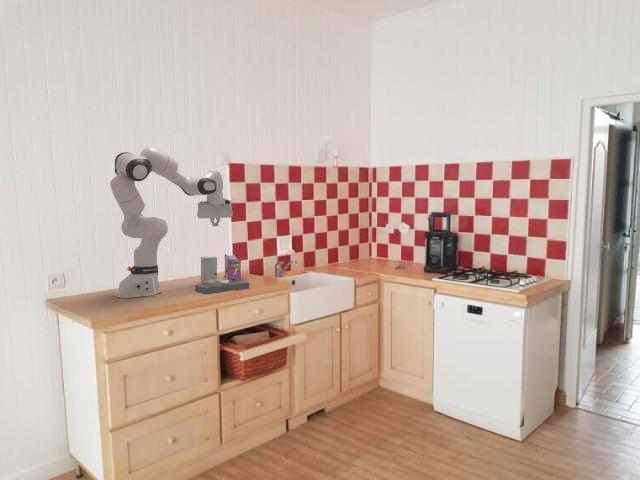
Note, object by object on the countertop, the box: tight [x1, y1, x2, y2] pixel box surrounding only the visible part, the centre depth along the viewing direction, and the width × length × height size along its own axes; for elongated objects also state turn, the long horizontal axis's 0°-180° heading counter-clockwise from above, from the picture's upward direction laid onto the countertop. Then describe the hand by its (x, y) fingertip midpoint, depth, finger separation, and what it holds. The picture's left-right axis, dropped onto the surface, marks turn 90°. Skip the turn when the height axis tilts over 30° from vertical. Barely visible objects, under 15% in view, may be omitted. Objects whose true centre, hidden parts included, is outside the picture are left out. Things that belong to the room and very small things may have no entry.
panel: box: [194, 280, 250, 295], centre depth 264 cm, size 26×12×3 cm, turn 131°
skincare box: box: [200, 256, 218, 284], centre depth 285 cm, size 8×6×15 cm
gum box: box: [224, 253, 242, 281], centre depth 299 cm, size 24×8×14 cm, turn 15°
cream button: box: [220, 279, 229, 285], centre depth 262 cm, size 4×4×2 cm
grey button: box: [207, 280, 216, 285], centre depth 256 cm, size 4×4×2 cm
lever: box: [231, 264, 240, 280], centre depth 274 cm, size 2×2×10 cm
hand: (215, 226), depth 272 cm, fingers closed
